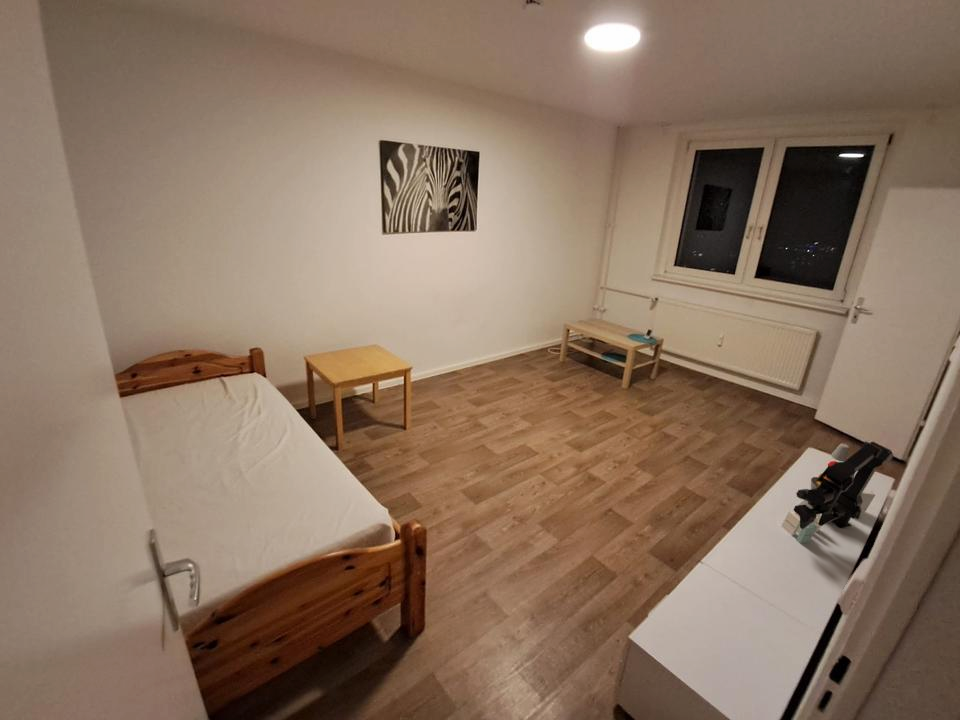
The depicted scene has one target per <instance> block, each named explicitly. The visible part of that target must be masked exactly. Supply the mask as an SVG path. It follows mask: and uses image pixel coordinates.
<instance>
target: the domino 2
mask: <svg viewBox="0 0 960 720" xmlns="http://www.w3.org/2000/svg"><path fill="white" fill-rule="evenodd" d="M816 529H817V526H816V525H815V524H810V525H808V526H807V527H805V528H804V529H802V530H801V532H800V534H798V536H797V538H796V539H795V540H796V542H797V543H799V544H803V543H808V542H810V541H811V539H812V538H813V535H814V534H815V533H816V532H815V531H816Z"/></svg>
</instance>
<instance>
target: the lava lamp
mask: <svg viewBox="0 0 960 720" xmlns="http://www.w3.org/2000/svg"><path fill="white" fill-rule="evenodd" d="M849 450H850V446H849V445H847V443H839V445H838V446H837V447H836V448H835V450H834V451H833V452H832V453H831V454H830V457H832V458H833V460H831V461H829V462H828V463H827V467H829V466H832V465H833V464H835V463H836V462H844V461H846V460H847V459H848V454H849ZM834 459H835V460H834ZM821 474H822V473H820V474H818V476H814V477H811V479H810V490H811V489H813V488H815V487H817V486H819V485H820V484H821V482H819V481H817V479H818V478H819V477H820V476H821ZM824 478H825V479H826V480H829V479H828V478H826V476H825V477H824ZM798 505H806V506H807V507H809V508H810V509H812V505H809V504H808V501H806V500H802V501H801V502H800V503H799V504H798Z"/></svg>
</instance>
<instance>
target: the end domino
mask: <svg viewBox="0 0 960 720" xmlns="http://www.w3.org/2000/svg"><path fill="white" fill-rule="evenodd" d="M821 515H822V514H819V515H816V516H817V517H818V520H817V521H816V523H815V525H816V526H817V529H816V531H815V532H814V533H816V532H819V530H820V528H821V527H822V526H820V525H819V524H818V523H819V520H820V518H821Z"/></svg>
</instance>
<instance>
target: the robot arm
mask: <svg viewBox="0 0 960 720" xmlns="http://www.w3.org/2000/svg"><path fill="white" fill-rule="evenodd" d="M893 458H894V453H893V452H892V450H891V449H889V448H888V447H886V446H883V445H882V444H879V443H877V442H876V441H871V442H869V441H866V440H865V441H864V443H863V444H862V445H861V447H860V448H859V449H858V450H857V451H856V452H854V453H853V454H852V455H851V456H850V457H847V458H846V461H844V462H842V461H836V463H835V464H833V465H832V466H829V467H828V466H827V467H826V469H825V470H824V471H823V472H822V473H820V474H821V476H820V477H819V476H818V477H819V478H818V479H817V481H819V482H821V484H820V485H819V486H817V487H815V488H813V489H811V488H803V489H798V490H797V492H796V497H797V498H799V499H800V500H802V501H804V500H806V501H808V504H809V505H812V509H810V508H809V507H807V506H806V505H799V504H797V505H794V507H793V512H794V513H797V514H798V515H799V516H800V528H801V529H804V528H805V527H807V526H808V525H810V524H811V523H812V522H814V520H815V519H816V517H817V516H816V515H819V514H822V515H821V518H820V520H819V523H818V524H819V525H820V526H821V527H823V526H825V525H826V524H828V523H833V524H834V525H835V526H837V527H838V528H839V529H845V528H850V527H852V526H853V524H851V523H850V520H851V519H853V520H854V519H857V520H858V519H859V518H860V517H861V516H860V514H861V512H862V510H861V507H860V506H861V504H862V503H863V501H862V497H861V494H862V492H863V491H864V489H865V487H866V486H867V487H868V484H869V482H870V481H871V480H872V477H873V475H874V474H875V472H876V471H877V469H878V468H879V467H882V466H883V465H885V464H887V463H889V462H890V461H891V460H892V459H893ZM825 476H826V478H828V479H829V480H826V479H825V478H824V477H825Z"/></svg>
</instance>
